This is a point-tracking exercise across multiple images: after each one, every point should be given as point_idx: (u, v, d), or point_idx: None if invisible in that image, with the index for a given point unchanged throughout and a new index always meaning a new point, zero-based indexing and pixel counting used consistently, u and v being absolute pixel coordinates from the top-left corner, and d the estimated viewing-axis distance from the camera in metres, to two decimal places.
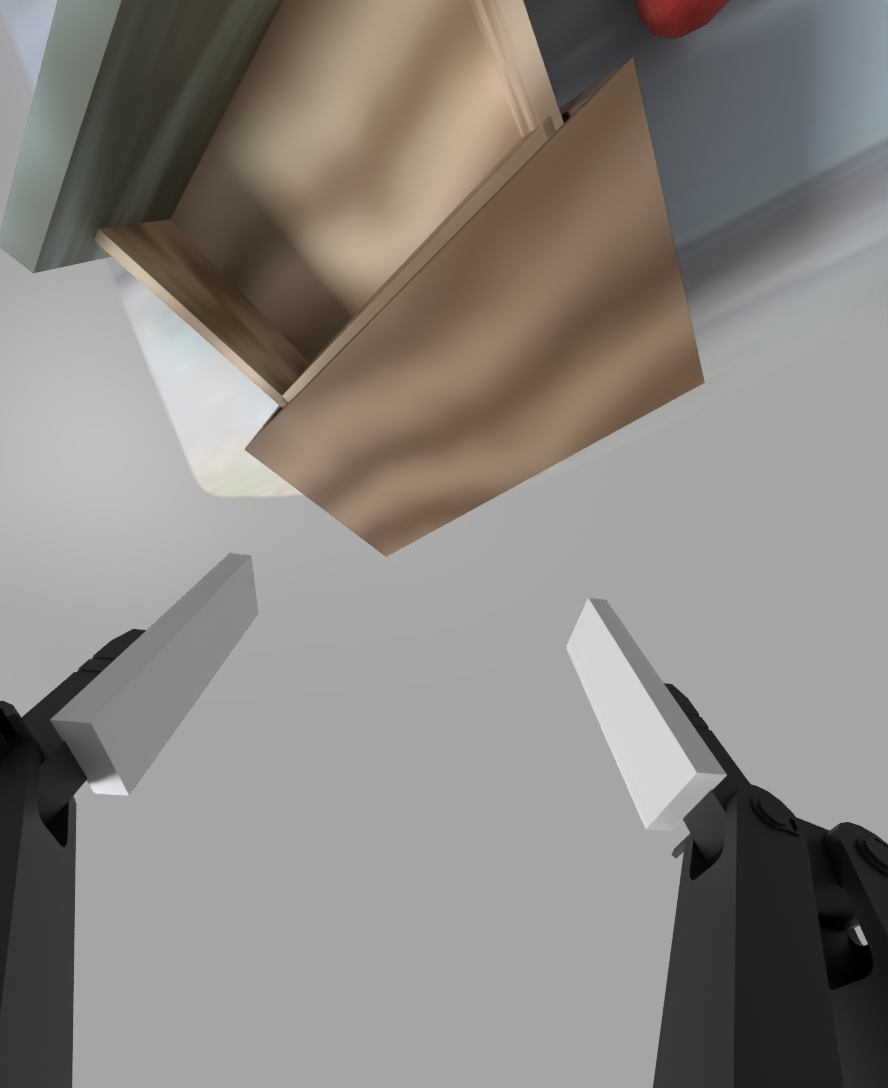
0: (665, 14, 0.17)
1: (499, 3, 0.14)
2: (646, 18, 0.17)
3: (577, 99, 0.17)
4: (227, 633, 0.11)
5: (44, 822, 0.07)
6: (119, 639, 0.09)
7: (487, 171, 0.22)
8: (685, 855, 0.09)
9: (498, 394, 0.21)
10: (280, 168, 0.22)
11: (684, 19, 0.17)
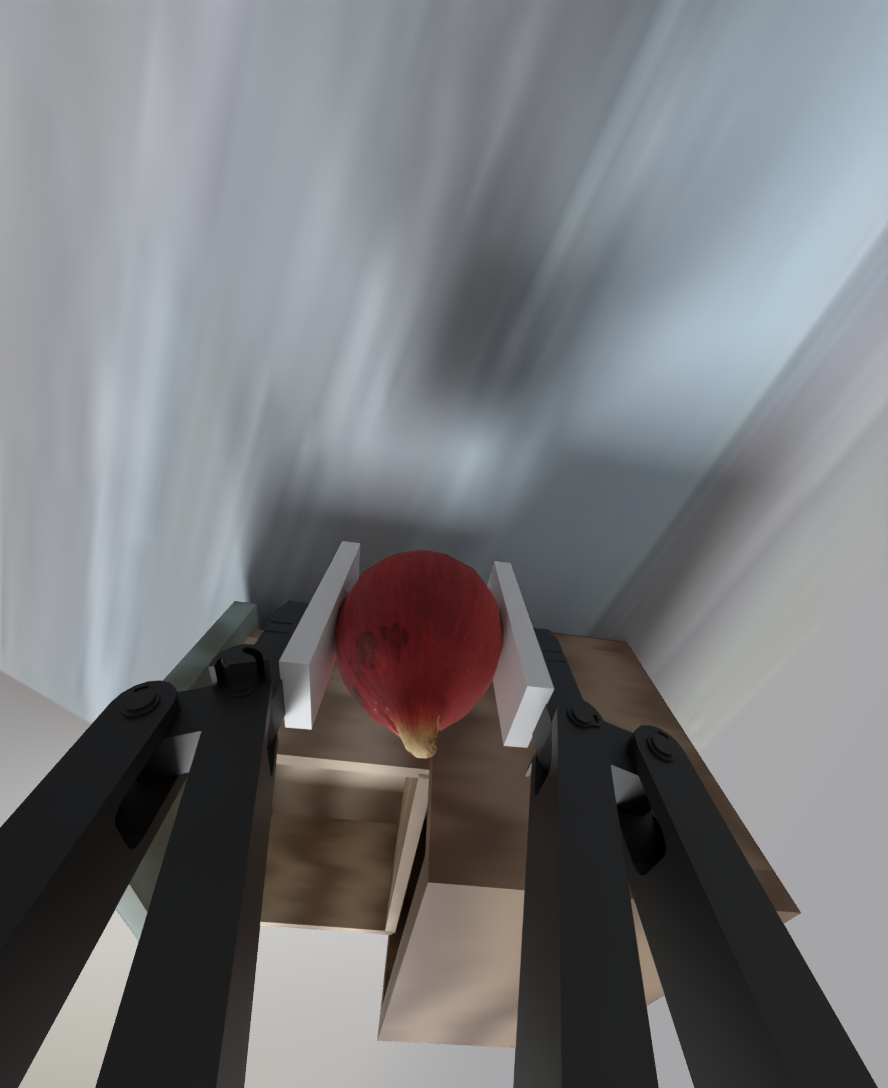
0: None
1: (338, 769, 0.17)
2: None
3: None
4: None
5: (271, 741, 0.09)
6: (283, 609, 0.11)
7: None
8: (532, 773, 0.10)
9: None
10: None
11: None
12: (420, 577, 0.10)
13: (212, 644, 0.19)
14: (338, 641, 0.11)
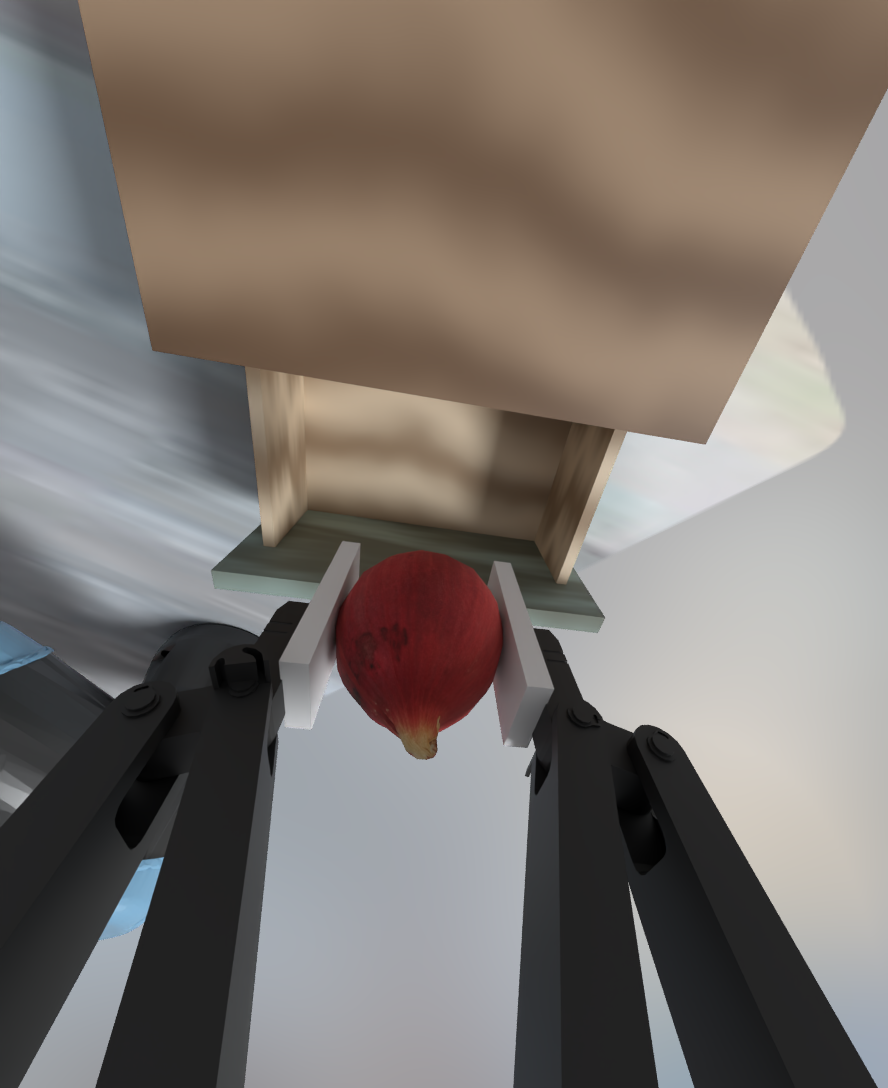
0: None
1: (265, 438, 0.21)
2: None
3: None
4: None
5: (271, 741, 0.09)
6: (283, 609, 0.11)
7: None
8: (532, 773, 0.10)
9: (396, 166, 0.12)
10: (454, 495, 0.30)
11: None
12: (420, 577, 0.10)
13: None
14: (338, 642, 0.11)
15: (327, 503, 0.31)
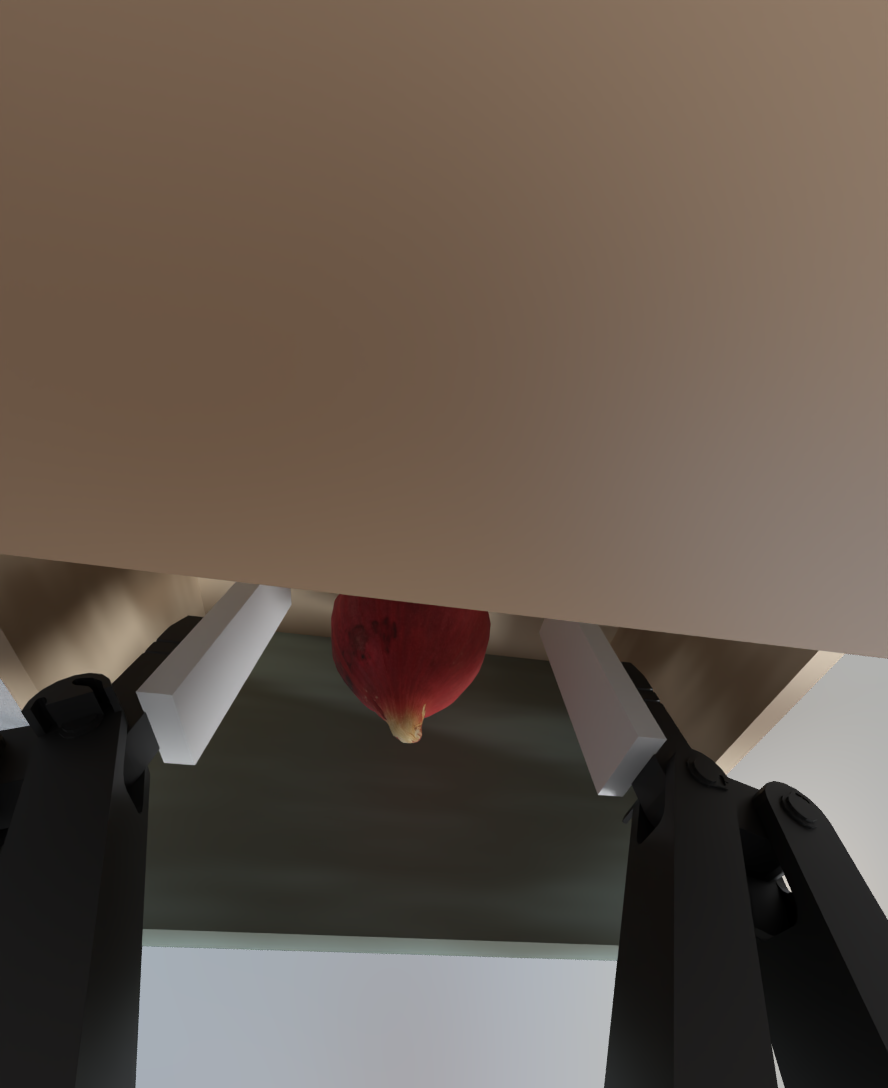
0: None
1: None
2: None
3: None
4: (268, 621, 0.12)
5: (129, 784, 0.08)
6: (178, 625, 0.10)
7: None
8: (633, 820, 0.09)
9: None
10: None
11: None
12: None
13: None
14: (333, 632, 0.11)
15: None
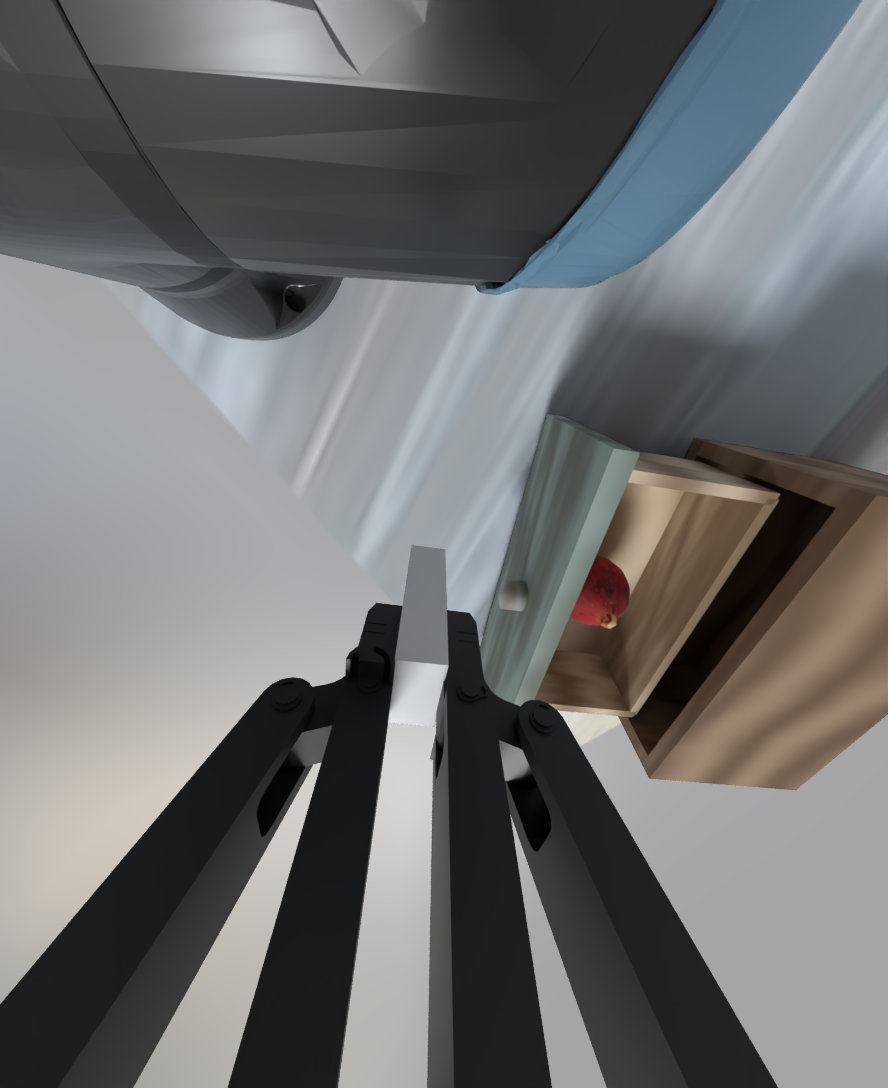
0: None
1: (709, 495, 0.22)
2: None
3: (769, 469, 0.23)
4: None
5: None
6: (373, 610, 0.12)
7: (679, 499, 0.30)
8: (434, 755, 0.10)
9: (861, 653, 0.23)
10: None
11: None
12: None
13: (572, 423, 0.24)
14: (616, 574, 0.27)
15: None
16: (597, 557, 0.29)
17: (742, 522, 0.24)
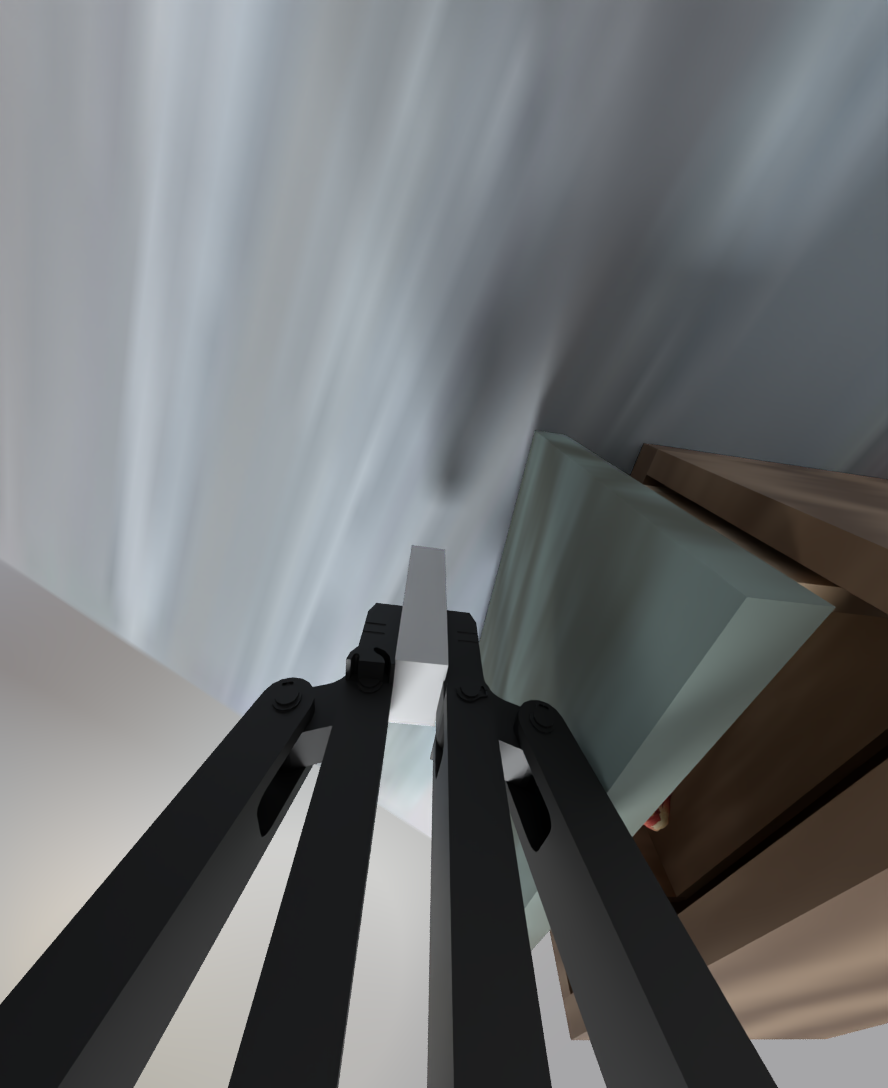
0: None
1: None
2: None
3: (780, 522, 0.10)
4: None
5: (386, 734, 0.09)
6: (373, 610, 0.12)
7: None
8: (434, 755, 0.10)
9: None
10: None
11: None
12: None
13: (584, 454, 0.12)
14: None
15: None
16: None
17: None
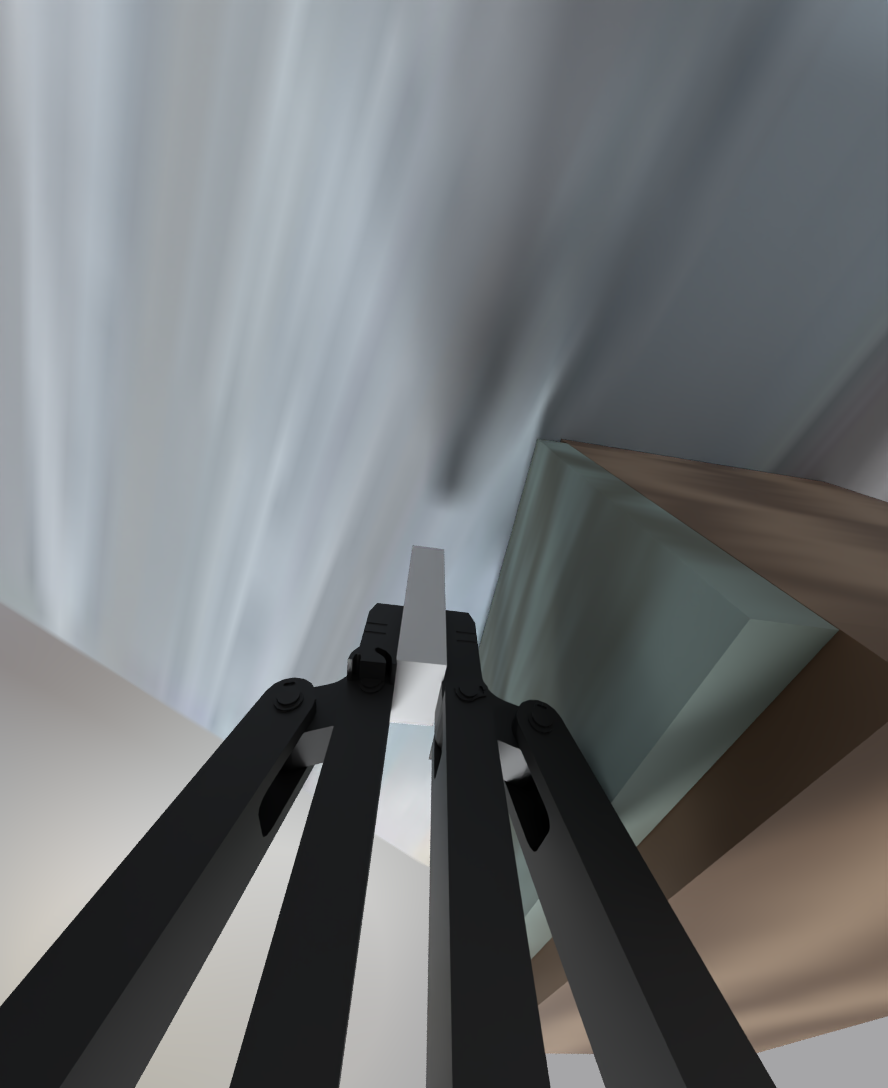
0: None
1: None
2: None
3: None
4: None
5: (387, 734, 0.09)
6: (374, 610, 0.12)
7: None
8: (433, 755, 0.10)
9: (864, 957, 0.09)
10: None
11: None
12: None
13: (587, 465, 0.12)
14: None
15: None
16: None
17: None
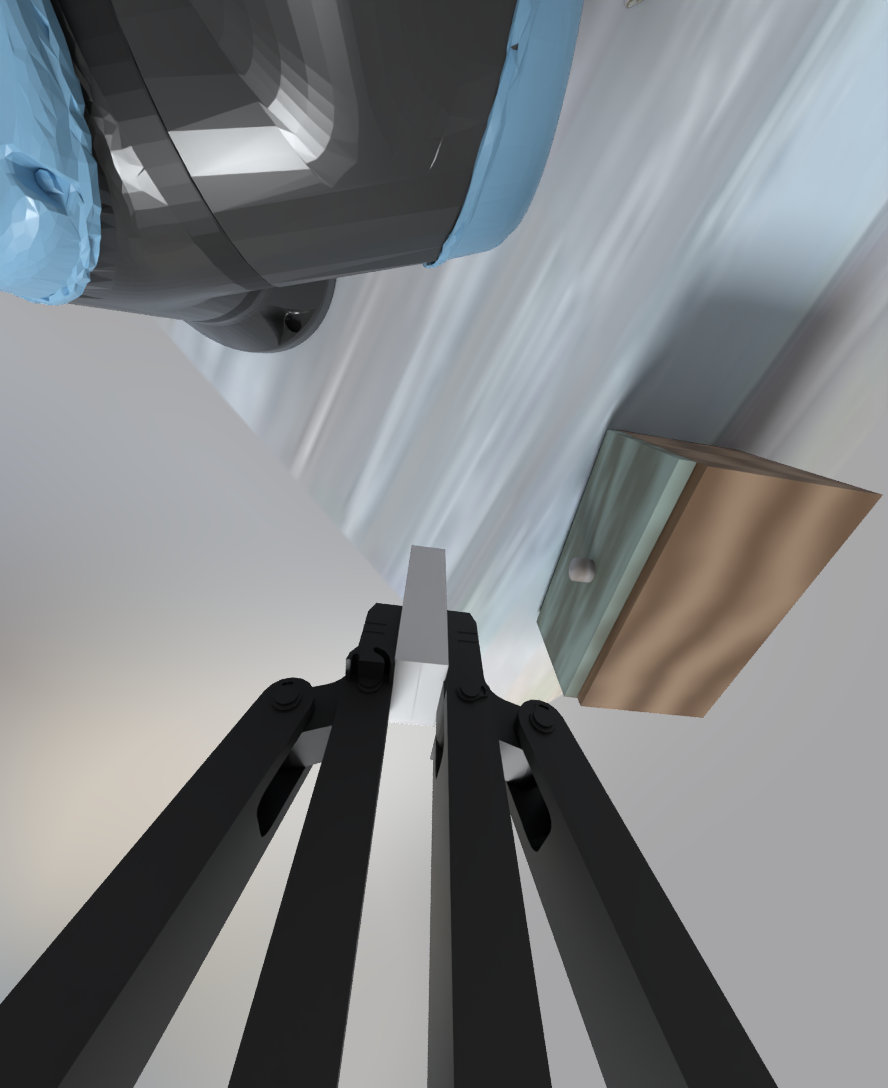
0: None
1: None
2: None
3: None
4: None
5: None
6: (373, 610, 0.12)
7: None
8: (434, 755, 0.10)
9: (727, 592, 0.29)
10: None
11: None
12: None
13: (633, 438, 0.32)
14: None
15: None
16: None
17: None
